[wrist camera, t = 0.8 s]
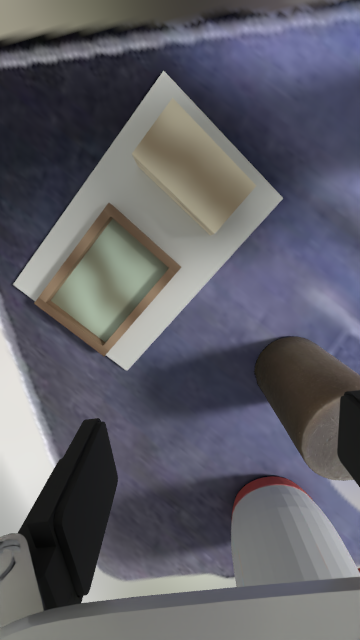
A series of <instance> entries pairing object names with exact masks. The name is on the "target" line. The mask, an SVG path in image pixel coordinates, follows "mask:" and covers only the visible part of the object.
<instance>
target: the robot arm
mask: <svg viewBox="0 0 360 640" xmlns="http://www.w3.org/2000/svg"><path fill="white" fill-rule="evenodd" d="M337 454H338V457H339V460H340V462H341V463H342V464H343V466H344V467H345V468H346V470H347V471H348V472H349V474H350V475H351V476H352V478H353V479H354V480H355V481H356V483H357V484H358V485H359V487H360V390H355V391H346V392H345V393H344V396H341V398H340V411H339V429H338V447H337ZM117 482H118V476H117V471H116V466H115V462H114V458H113V454H112V449H111V445H110V441H109V437H108V432H107V428H106V424H105V422H101V420H100V419H99V418H97V419H87V420H84V421H83V422H82V424H81V426H80V428H79V430H78V432H77V433H76V435H75V437H74V439H73V441H72V442H71V444H70V446H69V448H68V450H67V451H66V453H65V455H64V457H63V458H62V459H60V460H59V462H58V463H57V465H56V466H55V468H54V470H53V472H52V473H51V475H50V477H49V479H48V480H47V482H46V484H45V486H44V488H43V490H42V491H41V493H40V495H39V497H38V498H37V500H36V502H35V504H34V505H33V507H32V509H31V511H30V512H29V514H28V516H27V518H26V520H25V521H24V523H23V525H22V527H21V528H20V530H19V532H18V533H11V534H8V535H4V536H2V537H0V640H360V577H348V578H336V579H324V580H313V581H301V582H290V583H279V584H268V585H257V586H245V587H235V588H223V589H213V590H203V591H192V592H183V593H171V594H161V595H151V596H140V597H131V598H122V599H115V600H106V601H97V602H89V603H81V602H82V598H83V595H87V594H88V593H89V590H90V587H91V583H92V580H93V576H94V572H95V568H96V564H97V560H98V556H99V553H100V549H101V545H102V541H103V537H104V533H105V530H106V526H107V522H108V518H109V514H110V510H111V506H112V503H113V499H114V495H115V491H116V487H117Z"/></svg>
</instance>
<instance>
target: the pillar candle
mask: <svg viewBox="0 0 360 640" xmlns="http://www.w3.org/2000/svg"><path fill="white" fill-rule="evenodd" d="M254 372H255V375H256V378H257V384H258V385H259V387H260V389H261V390H262V392H263V393H264V395H265V397H266V398H267V400H268V402H269V404H270V405H271V407H272V408H273V410H274V412H275V413H276V415H277V416H278V418H279V420H280V421H281V423H282V425H283V426H284V428H285V430H286V431H287V433H288V435H289V436H290V438H291V440H292V441H293V443H294V445H295V446H296V448H297V450H298V451H299V453H300V454H301V456H302V458H303V459H304V461H305V462H306V464H307V465H308V466H309V468H310V469H312V470H313V471H314V472H315V473H317V474H318V475H320V476H323V477H325V478H328V479H332V480H343V481H344V480H354V479H353V478H352V476H351V475H350V474H349V472H348V471H347V470H346V468H345V467H344V466H343V464H342V463H341V462H340V460H339V457H338V454H337V447H338V429H339V411H340V398H341V396H344V393H345V392H346V391H355V390H360V375H358V374H357V373H356V372H354V371H353V370H352V369H350V368H349V367H348V366H346V365H345V364H343V363H342V362H340V361H339V360H337V359H336V358H335V357H334V356H332V355H331V354H329V353H328V352H326V351H325V350H323V349H322V348H321V347H319V346H318V345H316V344H315V343H313V342H311V341H310V340H308V339H305V338H302V337H286V338H281V339H279V340H276V341H274V342H272V343H271V344H269V345H268V346H267V347H266V348H265V349H264V350H263V351H262V352H261V354H260V355H259V357H258V359H257V362H256V365H255V371H254Z"/></svg>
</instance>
